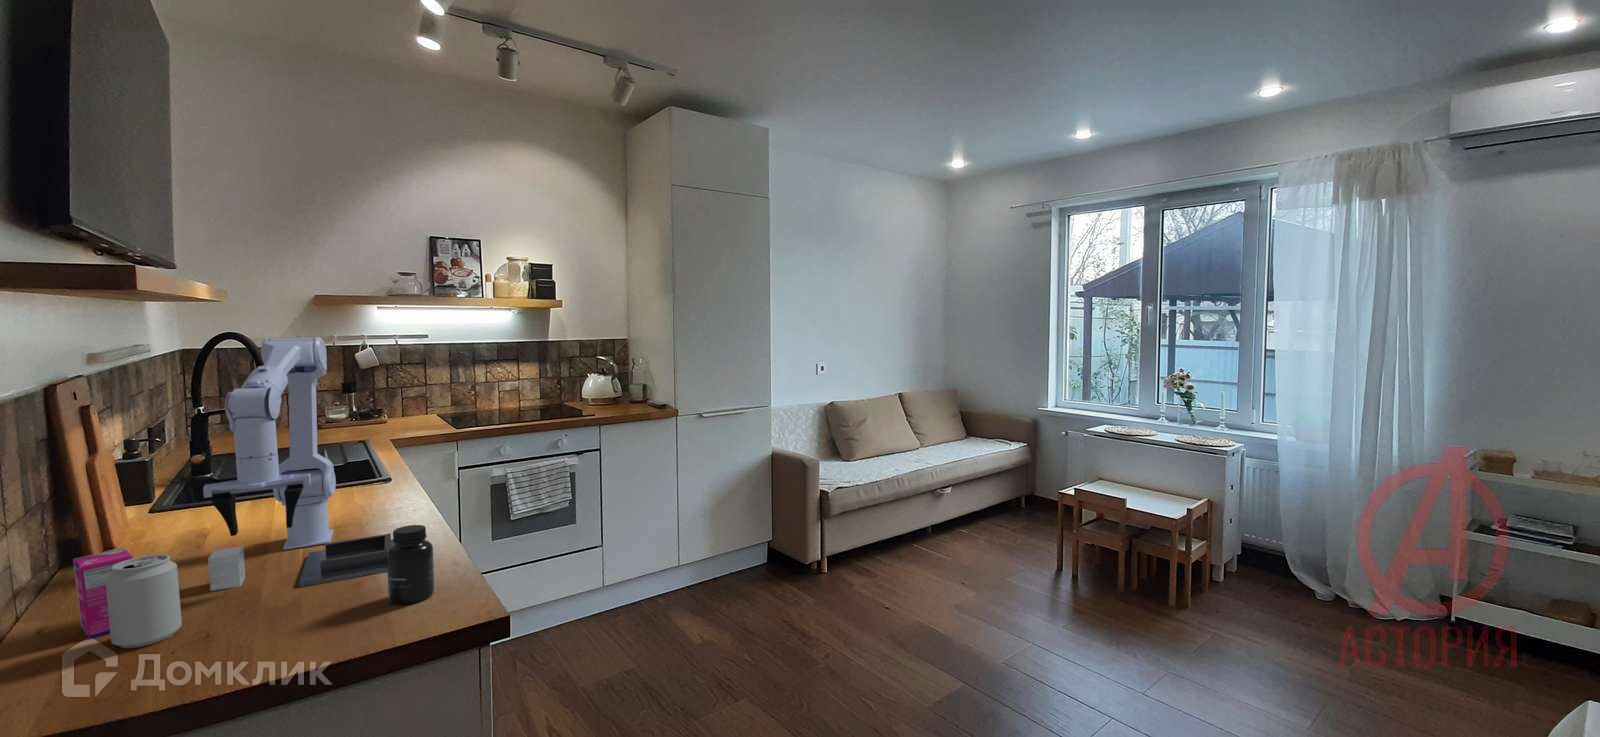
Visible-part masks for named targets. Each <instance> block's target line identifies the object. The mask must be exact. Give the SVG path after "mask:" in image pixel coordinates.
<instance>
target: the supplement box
mask: <svg viewBox="0 0 1600 737" xmlns="http://www.w3.org/2000/svg"><path fill="white" fill-rule="evenodd" d="M132 558H134V557H133V554H131V552H129V551H128V550H127V549H126V548H125V547H121V548H117V549H112V550H108V551H104V552H100V553H95V554H90V555H86V556H81V557H76V558H73V559H72V561H73V569H74V577H75V586H76V587H75V588H76V595H77V602H78V612H79V618H80V619H79V621H80V627H81V629H82V631H84V633H85V634H86V636H87V638H88V639H89V638H91V639H94V638H98V637H101V636H105V635H110V625H109V614H108V603H107V592H106V581H105V579H106V578H107V576H108V575H109V574H110V573H111V572H112V571H113V570H111V567H112V566H113V565H115V564H117V563H119V562H122V561H125V560H129V559H132Z"/></svg>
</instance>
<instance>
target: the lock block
mask: <svg viewBox="0 0 1600 737" xmlns="http://www.w3.org/2000/svg"><path fill="white" fill-rule="evenodd" d="M207 562H208V576H209V586H210V587H209V588H210V589H209V590H210V592H216V591H221V590H227V589H233V588H238V587H241V586H242V584H243V582H244V581H245V579H246V566H245V551H244V545H240V546H232V547H226V548H225V547H224V548H218V549H214V550H213V551H212V552H211V553H210V556H208V558H207Z"/></svg>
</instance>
